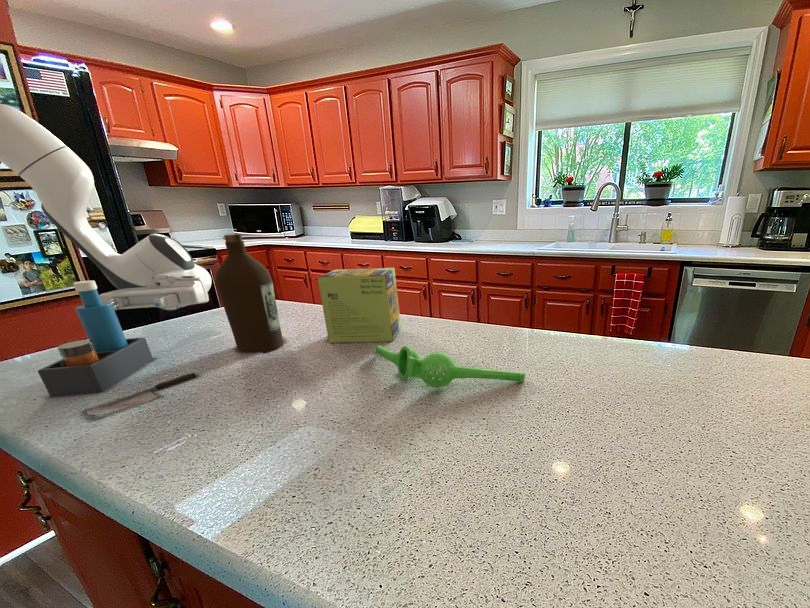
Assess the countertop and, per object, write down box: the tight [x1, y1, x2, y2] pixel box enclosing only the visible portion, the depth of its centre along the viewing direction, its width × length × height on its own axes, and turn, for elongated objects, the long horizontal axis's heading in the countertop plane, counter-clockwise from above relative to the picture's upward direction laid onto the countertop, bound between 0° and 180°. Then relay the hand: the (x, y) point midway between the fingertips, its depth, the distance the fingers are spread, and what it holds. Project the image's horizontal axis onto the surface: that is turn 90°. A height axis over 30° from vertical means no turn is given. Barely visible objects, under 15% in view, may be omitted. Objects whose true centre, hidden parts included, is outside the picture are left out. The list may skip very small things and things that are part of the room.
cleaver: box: [86, 372, 197, 415], centre depth 69 cm, size 16×1×5 cm
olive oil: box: [215, 233, 284, 354], centre depth 87 cm, size 11×11×25 cm
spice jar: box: [56, 339, 99, 367], centre depth 72 cm, size 5×5×8 cm
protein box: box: [317, 267, 402, 344], centre depth 94 cm, size 10×15×16 cm
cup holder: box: [37, 337, 154, 398], centre depth 76 cm, size 8×16×6 cm, turn 10°
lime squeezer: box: [375, 345, 526, 389], centre depth 72 cm, size 34×12×6 cm, turn 63°
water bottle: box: [72, 279, 128, 352], centre depth 77 cm, size 5×5×18 cm
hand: (134, 305), depth 86 cm, fingers open, 8 cm apart
